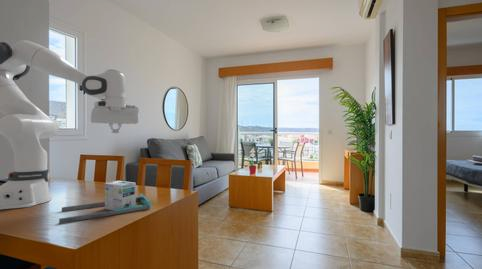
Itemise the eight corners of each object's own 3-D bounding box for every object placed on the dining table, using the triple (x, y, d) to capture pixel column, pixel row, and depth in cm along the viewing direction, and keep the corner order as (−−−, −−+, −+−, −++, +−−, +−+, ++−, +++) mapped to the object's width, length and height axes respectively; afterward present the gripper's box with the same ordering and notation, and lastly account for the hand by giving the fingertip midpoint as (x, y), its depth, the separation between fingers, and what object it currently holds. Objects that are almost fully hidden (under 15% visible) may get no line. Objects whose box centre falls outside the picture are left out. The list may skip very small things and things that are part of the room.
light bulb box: (136, 207, 100) (136, 182, 100) (122, 212, 94) (122, 185, 94) (118, 204, 104) (118, 179, 104) (103, 209, 98) (104, 182, 98)
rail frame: (59, 223, 82) (59, 215, 82) (61, 211, 95) (61, 203, 95) (150, 208, 99) (150, 201, 99) (142, 199, 112) (142, 193, 112)
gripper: (137, 106, 124) (137, 133, 124) (90, 103, 112) (90, 132, 112) (139, 105, 118) (139, 133, 118) (91, 101, 107) (90, 132, 107)
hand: (115, 133), depth 115 cm, fingers closed
